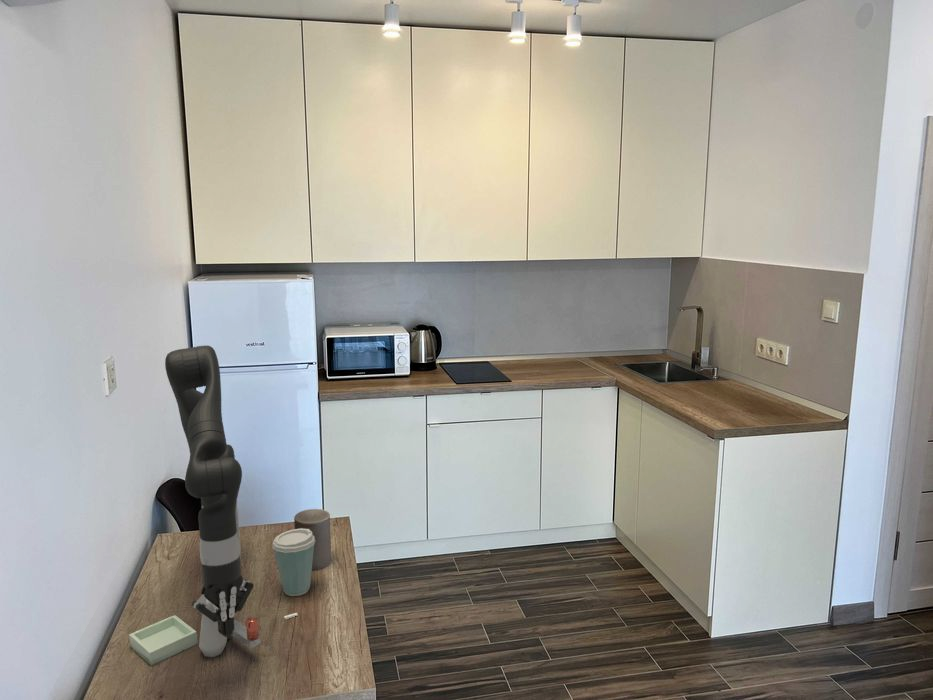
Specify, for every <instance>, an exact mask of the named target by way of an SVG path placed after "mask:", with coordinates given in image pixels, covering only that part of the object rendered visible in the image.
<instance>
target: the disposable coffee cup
mask: <svg viewBox="0 0 933 700" xmlns="http://www.w3.org/2000/svg"><path fill="white" fill-rule="evenodd" d="M314 543H315V537H314V536H313V535H312V531H310V530H309V529H303V528H300V529H295V528H294V529H290V530H286V531H284V532H282V533H280V534H278V535H277V536H275V538H274V539H273V542H272V543H271V544H272V546H271V547H272V549H273V552H274V553H273V554H274V557H275V561H276V566H277V570H278V574H279V579H280V580H279V581H280V584H281V588H282V591H283V593H285V595H286V596H290V597H299V596H302V595H305V594H306V593H308V592H309V590H310V588H311V581H312V573H313V570H312V561H313V550H314Z"/></svg>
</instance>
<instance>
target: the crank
mask: <svg viewBox="0 0 933 700" xmlns="http://www.w3.org/2000/svg"><path fill="white" fill-rule="evenodd" d="M258 621H259V619H258V617H256V616H255V617H254V616H251V617H249V618H247V619H246V620H245V625H243V624H242V623H241V622H239V621H238V620H237V619H235V618H234V630H233V634H231V635H232V636H233V637H234V638H235V639H237V640H238V641H240V642H241V643H242V644H243V645H245V646H247V647H248V648H249V649H250V650H251V649H252V648H254V647H257V646H259V645H261V637H260V633H259V622H258Z"/></svg>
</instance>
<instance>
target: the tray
mask: <svg viewBox="0 0 933 700" xmlns="http://www.w3.org/2000/svg"><path fill="white" fill-rule="evenodd" d="M197 634H198V633H197V631H196V630H195V629H193V627H191V626H190V625H189V624H187V623H186V622H184V621H183V620H182V619H181V618H180V617H178V616H177V615H176V614H175V615H172V616H169V617H167V618H165V619H162V620H160V621H157V622H155V623H152V624H151V625H148V626H145V627H143V628H141V629H139V630H137V631H134V632H131V633H129V634H128V637H129V645H130V648H131V649H132V650H133V651H134V650H135V651H136V654H137V655H138V656H139V657H141V658H142V659H143V660H144V661H145V662H147V664H148V665H150V666H151V667H152V666H154V665H156V664H158V663H160V662H162V661H164V660H167V659H168V658H171V657H173V656H175V655H177V654H179V653H182V652H184V651H186V650H188V649H190V648H192V647H194V646H196V644H197V645H199V641H198V635H197ZM183 650H184V651H183ZM135 651H134V652H135Z"/></svg>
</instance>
